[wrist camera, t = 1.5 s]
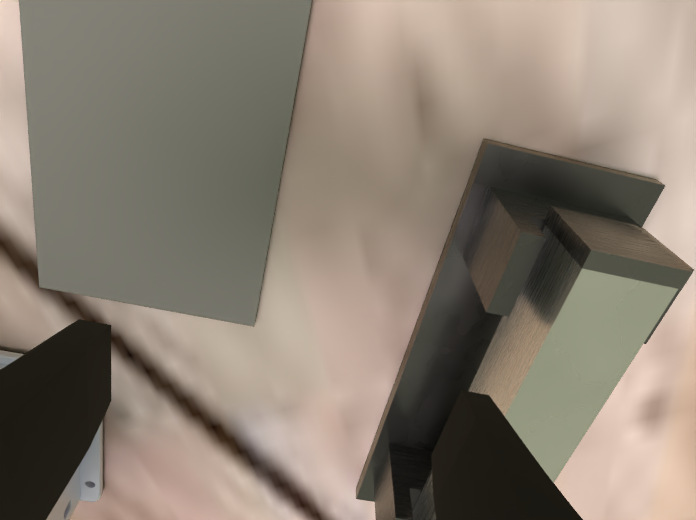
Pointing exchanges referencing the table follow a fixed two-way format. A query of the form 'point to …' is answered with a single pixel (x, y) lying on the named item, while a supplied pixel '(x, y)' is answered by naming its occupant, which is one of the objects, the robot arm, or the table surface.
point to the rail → (572, 333)
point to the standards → (482, 298)
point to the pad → (159, 146)
